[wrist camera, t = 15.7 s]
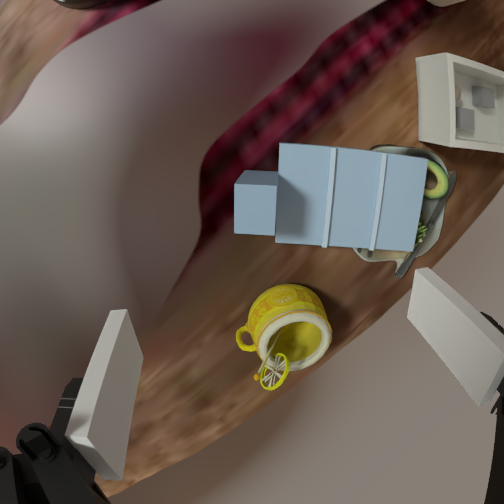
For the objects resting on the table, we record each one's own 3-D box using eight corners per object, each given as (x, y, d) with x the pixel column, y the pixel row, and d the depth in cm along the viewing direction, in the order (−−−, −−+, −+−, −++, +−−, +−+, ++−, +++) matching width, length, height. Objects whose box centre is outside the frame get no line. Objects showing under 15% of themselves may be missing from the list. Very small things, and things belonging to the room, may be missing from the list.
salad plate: (432, 269, 48) (448, 282, 43) (336, 277, 46) (348, 293, 41) (451, 152, 40) (471, 157, 36) (348, 140, 38) (364, 143, 34)
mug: (314, 268, 44) (345, 317, 33) (323, 329, 49) (349, 382, 38) (223, 292, 44) (228, 349, 33) (243, 351, 48) (252, 410, 37)
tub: (415, 57, 34) (446, 52, 27) (496, 80, 35) (525, 81, 29) (418, 140, 38) (449, 146, 32) (496, 148, 40) (526, 156, 34)
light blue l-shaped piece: (246, 140, 37) (235, 147, 29) (421, 157, 35) (453, 169, 27) (244, 234, 42) (234, 264, 34) (407, 245, 40) (432, 275, 32)
